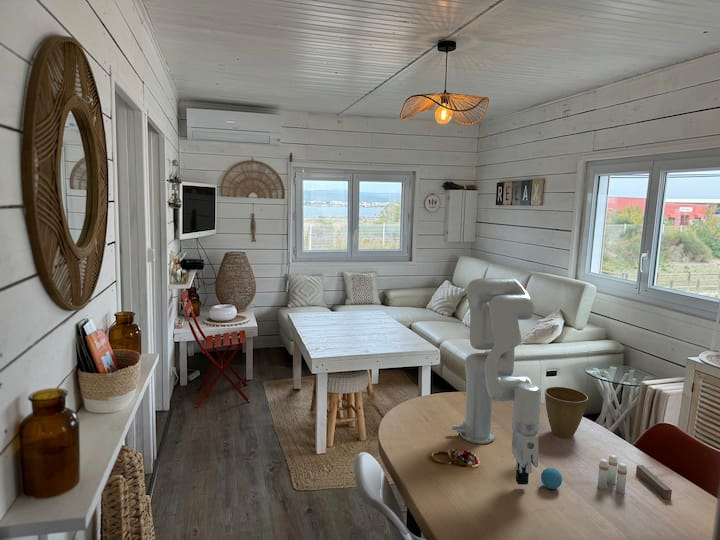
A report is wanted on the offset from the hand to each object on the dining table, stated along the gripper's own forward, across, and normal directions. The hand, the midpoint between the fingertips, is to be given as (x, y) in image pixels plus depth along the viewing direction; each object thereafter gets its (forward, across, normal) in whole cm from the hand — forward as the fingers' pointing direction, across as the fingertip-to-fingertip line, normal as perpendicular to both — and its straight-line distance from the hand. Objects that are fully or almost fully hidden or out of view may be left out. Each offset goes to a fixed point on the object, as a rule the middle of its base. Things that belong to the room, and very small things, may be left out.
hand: (521, 482), depth 151 cm
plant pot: (+2, +35, -29) cm, 46 cm away
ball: (-1, 0, -9) cm, 9 cm away
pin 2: (+2, -2, -29) cm, 30 cm away
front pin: (+2, 0, -25) cm, 25 cm away
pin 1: (+2, +3, -29) cm, 29 cm away
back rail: (+2, 0, -41) cm, 41 cm away
